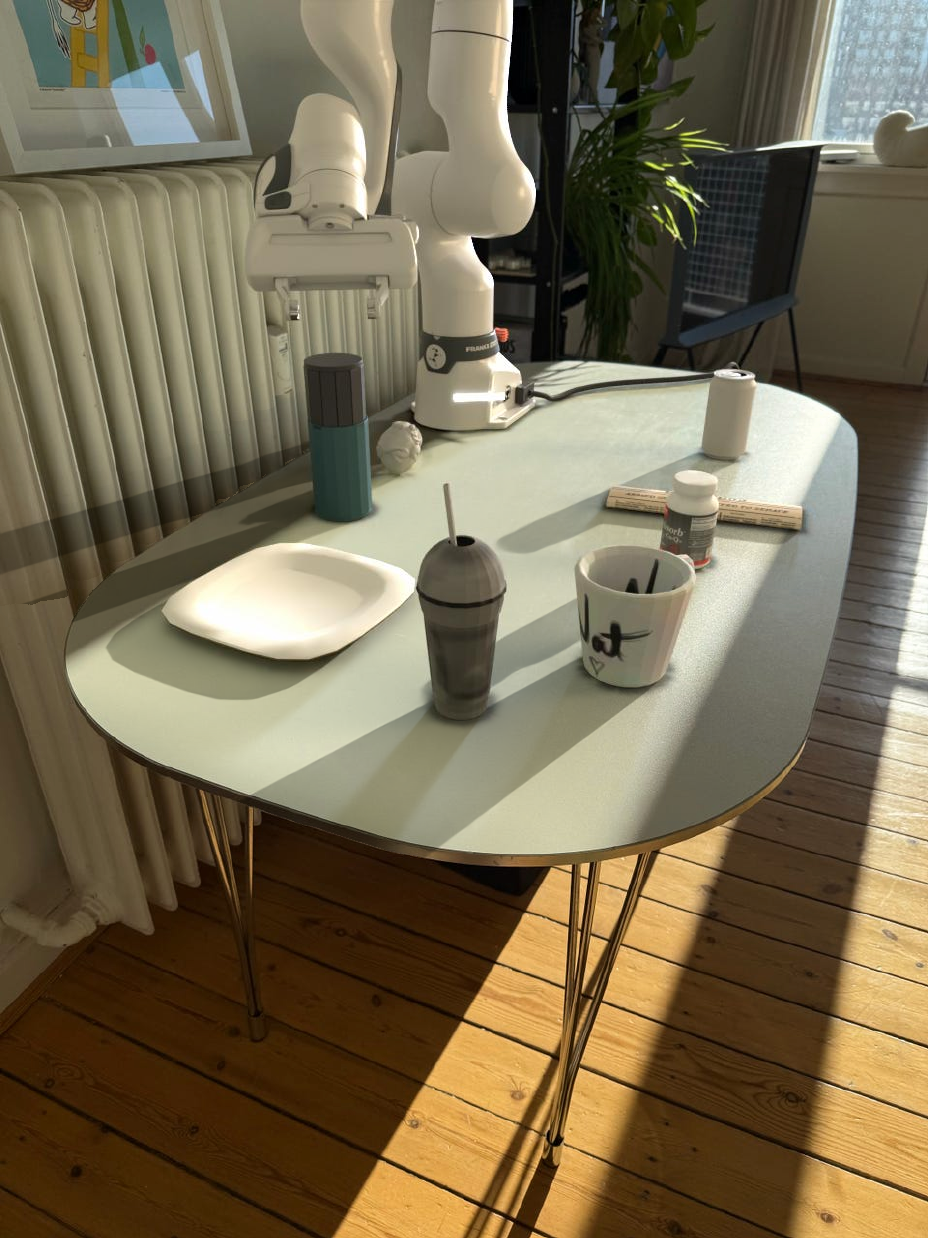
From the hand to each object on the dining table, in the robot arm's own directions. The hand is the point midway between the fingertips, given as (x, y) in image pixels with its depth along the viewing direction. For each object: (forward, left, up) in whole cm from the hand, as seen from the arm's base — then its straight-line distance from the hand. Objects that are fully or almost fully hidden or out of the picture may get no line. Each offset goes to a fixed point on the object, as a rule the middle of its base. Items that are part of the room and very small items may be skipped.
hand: (333, 316), depth 105 cm
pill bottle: (-10, +42, -23) cm, 50 cm away
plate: (+24, +14, -23) cm, 36 cm away
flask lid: (+2, +1, -11) cm, 12 cm away
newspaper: (-25, +38, -23) cm, 51 cm away
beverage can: (-47, +32, -23) cm, 62 cm away
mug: (+12, +47, -23) cm, 54 cm away
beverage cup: (+28, +38, -23) cm, 53 cm away
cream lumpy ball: (-13, -2, -23) cm, 27 cm away
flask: (+2, +1, -23) cm, 23 cm away
